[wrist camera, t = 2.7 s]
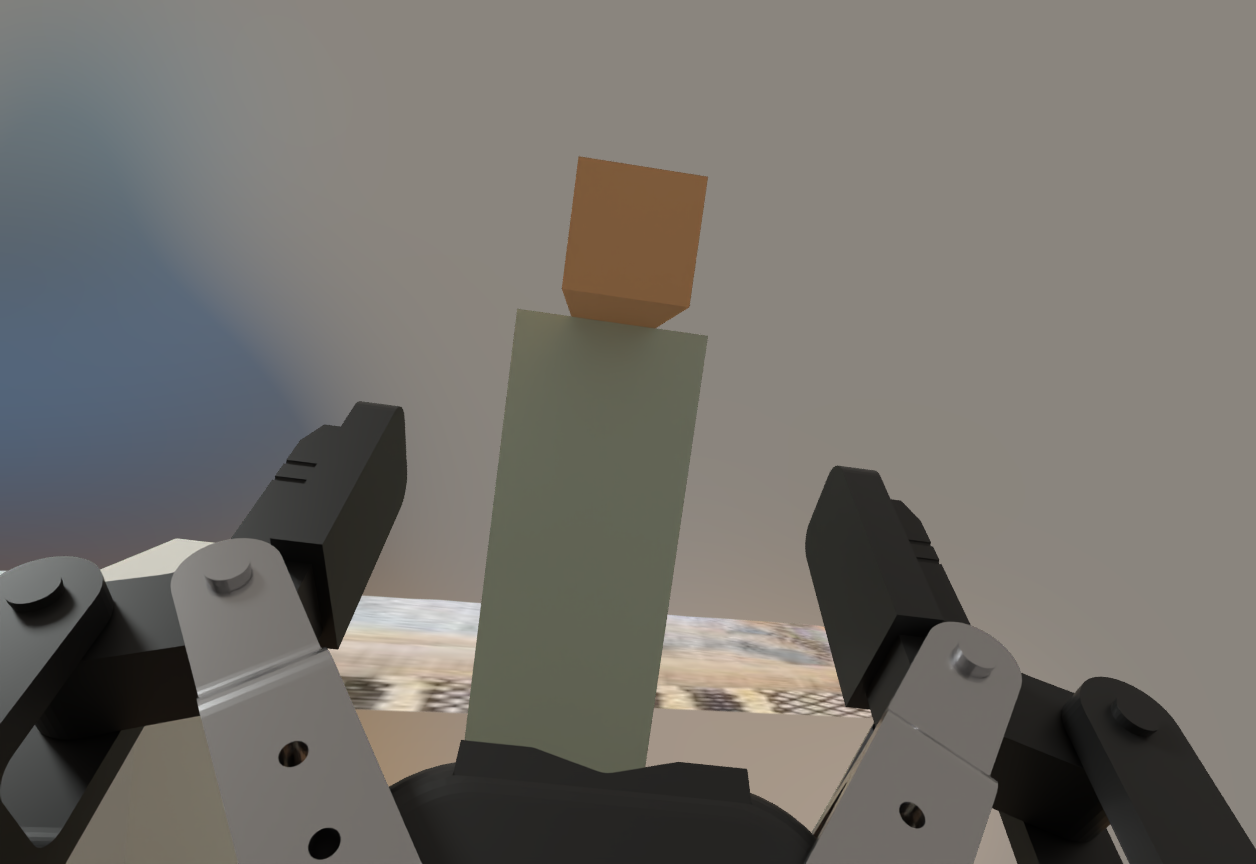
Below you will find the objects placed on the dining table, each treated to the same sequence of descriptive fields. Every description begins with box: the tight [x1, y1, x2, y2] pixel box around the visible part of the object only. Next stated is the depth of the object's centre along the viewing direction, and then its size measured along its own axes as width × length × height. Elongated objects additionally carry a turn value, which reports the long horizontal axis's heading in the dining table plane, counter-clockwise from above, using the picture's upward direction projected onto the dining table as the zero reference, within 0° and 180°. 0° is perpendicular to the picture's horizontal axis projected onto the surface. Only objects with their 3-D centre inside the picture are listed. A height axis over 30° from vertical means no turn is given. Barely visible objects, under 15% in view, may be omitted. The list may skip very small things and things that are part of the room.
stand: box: [465, 309, 708, 773], centre depth 38 cm, size 11×18×32 cm, turn 4°
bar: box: [562, 157, 708, 328], centre depth 32 cm, size 4×26×4 cm, turn 3°
